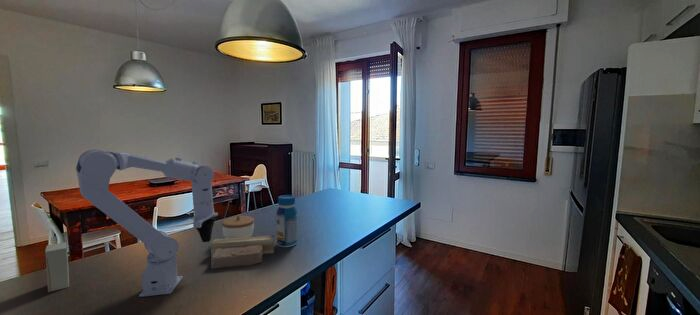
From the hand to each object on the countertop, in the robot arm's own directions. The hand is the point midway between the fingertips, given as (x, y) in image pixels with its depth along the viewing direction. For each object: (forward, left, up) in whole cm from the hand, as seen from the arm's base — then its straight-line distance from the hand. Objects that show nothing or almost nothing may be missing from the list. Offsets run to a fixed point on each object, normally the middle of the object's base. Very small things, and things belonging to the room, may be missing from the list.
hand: (206, 241), depth 92 cm
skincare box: (-2, +40, -10) cm, 41 cm away
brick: (+5, -9, -10) cm, 14 cm away
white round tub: (+24, -6, -10) cm, 27 cm away
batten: (+11, -10, -10) cm, 18 cm away
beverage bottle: (+17, -26, -10) cm, 33 cm away
